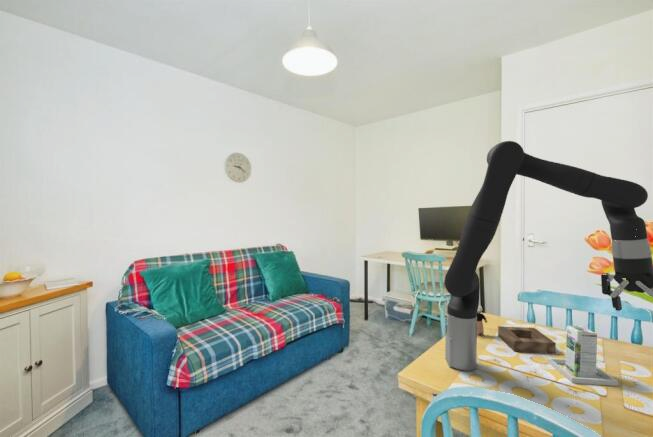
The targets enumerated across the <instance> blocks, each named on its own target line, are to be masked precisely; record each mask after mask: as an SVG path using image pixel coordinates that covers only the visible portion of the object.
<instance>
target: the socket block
mask: <svg viewBox="0 0 653 437" xmlns="http://www.w3.org/2000/svg"><path fill="white" fill-rule="evenodd" d="M497 336H498V338H500V339H501V340H502V341H503V342H504V343H505V344H506V345H507V346H508V347H509V348H510V349H511V350H512V351H513V352H515V353H517V352H518V353H530V354H531V353H532V354H533V353H534V354H548V355H550V354H551V355H556V352H557V351H556V346H557V345H556V342H555V341H553V340H552V339H551V338H549V337H548V336H547V335H545V334H544V333H542V332H540V331H539V330H538V329H537V328H535V327H520V326H519V327H518V326H516V327H515V326H500V325H499V326H497Z"/></svg>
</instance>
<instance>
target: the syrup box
mask: <svg viewBox="0 0 653 437" xmlns="http://www.w3.org/2000/svg"><path fill="white" fill-rule="evenodd" d="M565 334H566V337H565V338H566V339H565V341H566V342H565V359H566V363H565V364H564V365H565V366H564V367H565V369H566V371H568V372H570V373H571V374H572V376H574V377H582V378H596V379H597V377H596V376H597V372H596V366H597V354H598V352H597V350H598V333H597V332H594V331H592V330H591V329H589V328H587V327H586V326H580V325H567V326H566V333H565Z"/></svg>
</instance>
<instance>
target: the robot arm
mask: <svg viewBox="0 0 653 437" xmlns="http://www.w3.org/2000/svg"><path fill="white" fill-rule="evenodd" d="M486 162H487V167H486V168H487V169H486V172H485V176H484V180H483V182H482V183H483V184H482V186H481V188H480V190H479V191H478V193H477V195H476V196H475V199H474V200H473V202H472V204H471V206H470V208H469V211H468V214H467V217H466V220H465V221H464V226H463V229H462V232H461V236H460V239H459V241H458V242H459V243H458V246H457V249H456V251H455V255H454V257H453V259H452V261H451V263H450V264H449V268H448V270H447V271H446V274H445V276H444V280H443V281H444V287H445V289H446V291H447V292H448V294H449V295H450V299H449V301H448V303H447V308H446V309H447V310H446V312H447V316H446V317H447V319H446V321H447V322H446V323H447V326H446V329H447V330H446V331H445V346H444V347H445V349H444V350H445V358H444V359H445V361H446V363H447V364H448V366H449V368H454V369H457V370H460V371H464V372H465V371H466V372H467V371H468V372H469V371H474V370H476V369H477V363H478V362H477V358H478V357H477V354H478V352H477V350H478V349H477V347H478V346H477V345H478V342H477V340H478V339H477V338H478V336H477V310H478V306H479V305H480V287H481V286H480V285H481V284H480V278H479V275H478V273H477V272H476V271H477V268H478V265H479V262H480V260H481V259H482V256H483V255H484V253H485V252H486V250H487V249H488V247H489V246H490V244H491V243H492V241H493V239H494V237H495V236H496V233H497V230H498V227H499V225H500V222H501V219H502V218H501V217H502V215H503V212H504V209H505V205H506V202H507V198H508V195H509V191H510V188H511V186H512V185H513V182H514V180H515V178H516V175H518V176H521V177H522V176H523V177H526V178H529V179H532V180H535V181H539V182H541V183H544V184H547V185H550V186H551V187H554V188H557V189H560V190H562V191H566V192H567V193H571V194H574V195H577V196H579V197H584V198H588V199H589V198H590V199H597V200H600V202H601V206H602V207H601V208H602V209H603V212H604V215H605V217H606V219H607V221H608V223H609V230H610V237H611V254H612V261H613V266H614V267H613V268H614V274H610V273H608V272H605V273H604V274H606V275H603V274H601V276H600V277H601V278H600V279H601V280H600V281H601V293H602V294H603V295H607V296H609V297H610V299H611V303H612V304H611V305H612V307H613V309H615V311H616V312H617V311H618V312H619V311H622V310H623V309H622V308H623V307H622V300H621V299H622V298H621V296H620V295H621V294H622V293H623V292H624V291H627V292H636V293H640V294H643V293H646V294H647V295H649V297H651V298H653V258H652V253H653V252H652V249H651V246H650V242H649V237H648V233H647V232H648V231H647V226H646V222H645V220H644V219H643V218H642V217H641V216H639V215H637V213H636V209H635V208H638V207H642V206H643V205H644V204H645V203H646V202H647V200H648V198H649V195H648V190H646V188H645V187H644V186H642V185H640V184H638V183H637V182H634V181H630V180H626V179H622V178H616V177H612V176H605V175H601V174H600V173H599V174H598V173H596V172H592V171H590V170H587V169H584V168H580V167H577V166H576V167H575V166H572V165H568V164H564V163H560V162H555V161H551V160H546V159H543V158H539V157H536V156H533V155H532V154H528V153H526V152H525V151H524V148H523V147H522V145H520V143H518V142H516V141H513V140H506V141H502V142H500V143H497V144H495V145H494V146H492V147H491V148H490V149H489V151H488V152H487V154H486ZM636 229H637V230H636ZM635 236H636V237H635ZM615 240H616V241H615ZM622 278H626V281H625V280H623V279H622ZM613 280H614V281H615V282H616V283H617V284H618V286H617V287H615V288H614V290H612V288H611V282H612V281H613ZM627 283H628V284H627ZM618 288H620V289H618ZM617 289H618V290H617ZM623 289H624V291H623Z"/></svg>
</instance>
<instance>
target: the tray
mask: <svg viewBox="0 0 653 437" xmlns="http://www.w3.org/2000/svg"><path fill="white" fill-rule="evenodd" d="M547 363H548V364H549V365H551V366H552V367H553V369H555V370H556V371H557V372H559V373H560V374H561V375H562V376H563V377H564V378H566V379H567V380H568V381H569V382H570V383H571V384H580V385H583V384H584V385H595V386H596V385H597V386H599V385H600V386H612V387H618V386H619V380H617V379H616V378H614V377H613V376H611V375H609V373H607V372H606V371H604V370H602V369H601V368H599V367H598V366H597V365H596V374H597V375H600V376H601V377H602V378H597V377H596V378H582V377H576V376H573V375H571V374H570V373H569V371H568V372H567V370H565V369H564V368H563V367H561V365H565V363H566V358H556V357H555V358H554V357H548V358H547Z"/></svg>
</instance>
